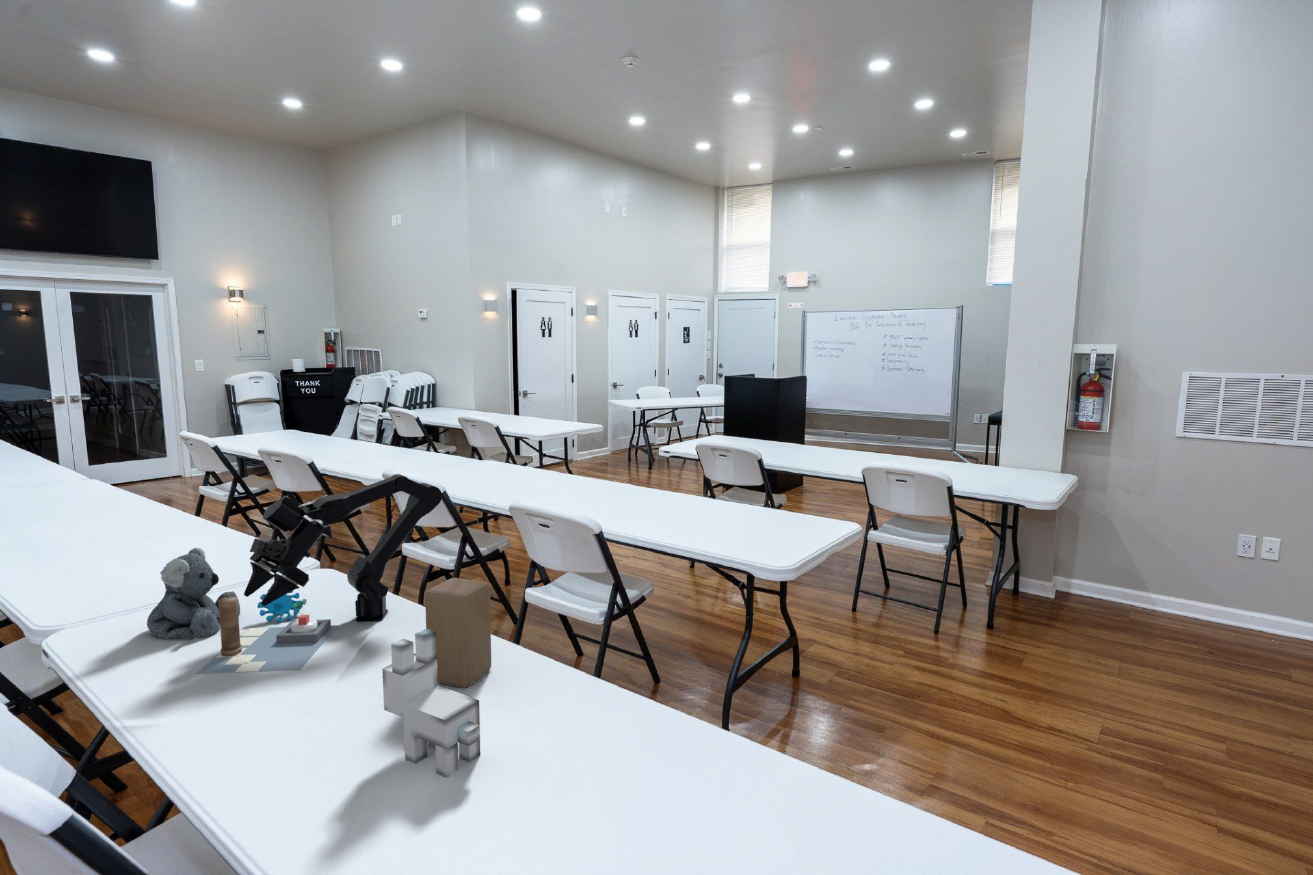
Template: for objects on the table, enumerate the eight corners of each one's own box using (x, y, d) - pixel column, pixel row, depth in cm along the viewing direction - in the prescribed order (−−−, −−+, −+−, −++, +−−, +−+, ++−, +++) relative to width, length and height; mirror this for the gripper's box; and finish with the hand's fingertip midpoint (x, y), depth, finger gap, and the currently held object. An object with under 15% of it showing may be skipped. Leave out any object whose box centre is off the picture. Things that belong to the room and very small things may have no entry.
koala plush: (213, 641, 161) (207, 561, 158) (129, 645, 158) (121, 564, 155) (245, 613, 178) (240, 541, 175) (169, 617, 175) (163, 543, 172)
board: (339, 628, 169) (338, 617, 169) (300, 673, 145) (299, 660, 145) (249, 631, 166) (248, 620, 166) (195, 677, 143) (194, 664, 142)
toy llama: (458, 783, 109) (455, 665, 107) (385, 750, 118) (381, 640, 116) (491, 759, 116) (489, 647, 113) (420, 729, 124) (416, 625, 122)
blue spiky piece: (256, 621, 168) (259, 585, 174) (254, 631, 172) (257, 595, 178) (306, 619, 174) (307, 584, 180) (303, 629, 178) (304, 594, 183)
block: (493, 669, 148) (491, 581, 146) (466, 690, 139) (464, 596, 137) (454, 661, 152) (452, 575, 149) (425, 682, 142) (422, 590, 140)
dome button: (321, 628, 166) (320, 611, 165) (312, 638, 160) (311, 620, 160) (297, 629, 165) (296, 611, 165) (287, 638, 160) (286, 621, 159)
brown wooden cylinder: (246, 649, 155) (242, 596, 153) (233, 657, 151) (229, 603, 149) (230, 648, 155) (226, 595, 154) (216, 655, 151) (212, 602, 150)
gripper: (255, 518, 163) (207, 574, 156) (291, 531, 152) (241, 592, 145) (292, 542, 170) (247, 597, 163) (328, 556, 159) (282, 616, 152)
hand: (253, 600), depth 156 cm, fingers open, 9 cm apart
